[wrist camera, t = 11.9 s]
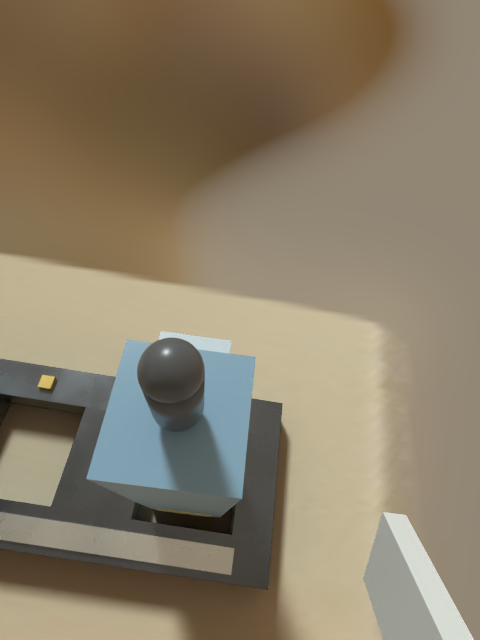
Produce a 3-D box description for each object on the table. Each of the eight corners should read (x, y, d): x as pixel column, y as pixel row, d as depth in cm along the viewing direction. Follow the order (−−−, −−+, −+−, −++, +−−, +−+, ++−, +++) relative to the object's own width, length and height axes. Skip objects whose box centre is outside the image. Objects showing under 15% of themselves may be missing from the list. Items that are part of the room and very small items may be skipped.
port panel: (-90, 531, 21) (-121, 531, 19) (-8, 367, 26) (-25, 353, 24) (262, 585, 21) (268, 590, 19) (277, 412, 26) (283, 401, 24)
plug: (152, 510, 22) (23, 453, 6) (169, 429, 25) (107, 234, 9) (218, 519, 23) (262, 483, 6) (228, 437, 25) (278, 259, 9)
